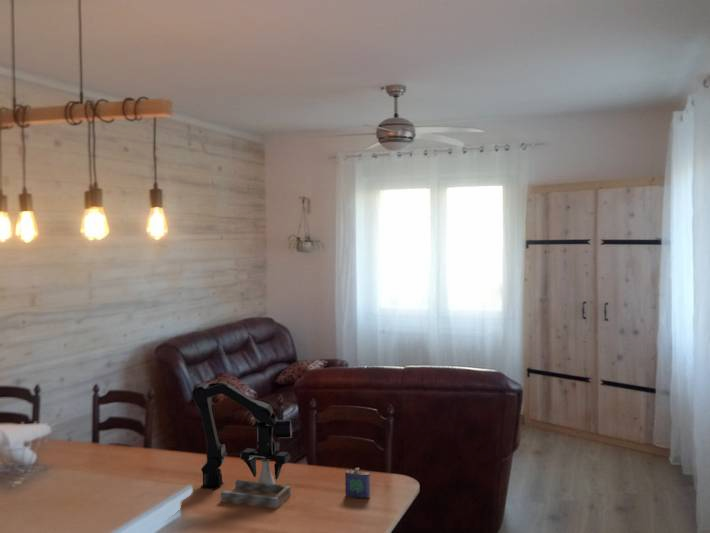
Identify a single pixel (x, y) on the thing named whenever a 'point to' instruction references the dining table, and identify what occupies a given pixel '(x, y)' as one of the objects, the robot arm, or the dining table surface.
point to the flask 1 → (266, 473)
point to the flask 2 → (357, 484)
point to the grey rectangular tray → (257, 494)
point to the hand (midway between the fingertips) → (265, 477)
